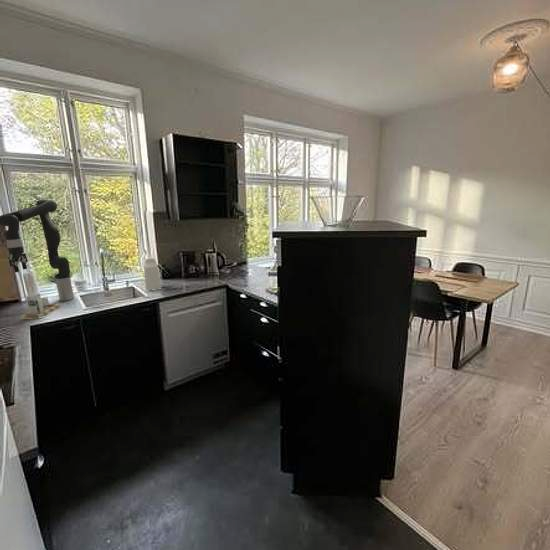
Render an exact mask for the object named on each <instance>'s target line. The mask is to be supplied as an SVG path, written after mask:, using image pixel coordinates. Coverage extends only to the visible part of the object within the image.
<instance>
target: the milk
mask: <svg viewBox="0 0 550 550" xmlns="http://www.w3.org/2000/svg"><path fill="white" fill-rule="evenodd" d="M155 259H156V258H154V257H152V258H146V259H145V263H144V280H145V291H146V290H152V289H159V288H161V287H162V282H161V276H160V271H159V265H158V263H157V261H156V260H155Z"/></svg>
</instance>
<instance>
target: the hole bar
mask: <svg viewBox="0 0 550 550" xmlns="http://www.w3.org/2000/svg"><path fill="white" fill-rule="evenodd" d="M42 306H43V305H42ZM49 307H50V308H46V309H43V310H44V312H42V313H40V314H31V315H30V311H27V312H25V313H24V314H22V315H21V316H20V319H21V321H23V320H22V319H27V320H31V319H30V318H39V317H43V316H45V315H47V314H48V313H50V312H52V311H53V312H54V310H55V311H56V310H59V307H60V308H61V307H62V305H61V303H49ZM53 312H52V313H53ZM50 314H51V313H50ZM48 315H49V314H48ZM48 315H47V316H48ZM45 317H46V316H45ZM43 318H44V317H43Z"/></svg>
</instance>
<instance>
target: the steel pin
mask: <svg viewBox="0 0 550 550" xmlns="http://www.w3.org/2000/svg"><path fill="white" fill-rule="evenodd" d="M41 301H42V305H43V309H46V308H50V307H49V304H50V303H49V298H48V297H47V296H45V297H41Z"/></svg>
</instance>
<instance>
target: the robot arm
mask: <svg viewBox="0 0 550 550" xmlns="http://www.w3.org/2000/svg"><path fill="white" fill-rule="evenodd" d="M57 209H58V204H57V202H56V201H55V200H53V199H49V198H47V199H46V198H45V199H43V198H42V199H38V200H36V203H35V206H29V207H25V208H21V209H19V210H16V211H13V212H8V213H4V214H2V215H0V225H1V226H3V227H8V229H7V230H5V231H4V237H5V241H6V247H7V251H8V254H9V255H11V256H8V262H9V266H10V267H12V268H13V270H14V272H15V273H20V269H19V263H21V266H22V267H21V268H22V270H27V269H28V267H27V263H28V262H29V260H28V256H27V253H25V250H24V246H23V243H22V240H21V236H20V222H25V221H28V220H30V219H32V218H35V217H37V216H39V218H40V222H41V226H42V230H43V235H44V239H45V243H46V248H47V256H48V262H49V266H50V267H51V268H52V269H54V270H58V273H56V274H55V275H54V278H55V283H56V289H57V294H58V298H59V301H61V302H64V301H71V300H72V299H74V298H75V295H74V291H73V286H72V281H71V276H70V274H71V267H70V262H69V259H68V258H67V257H65V256H59V246H60V242H61V234H60V231H59V229H58V227H57V226H56V224H55V223H54V222H53V221H52V219H51V216H50V213H54V212H56V210H57Z"/></svg>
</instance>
